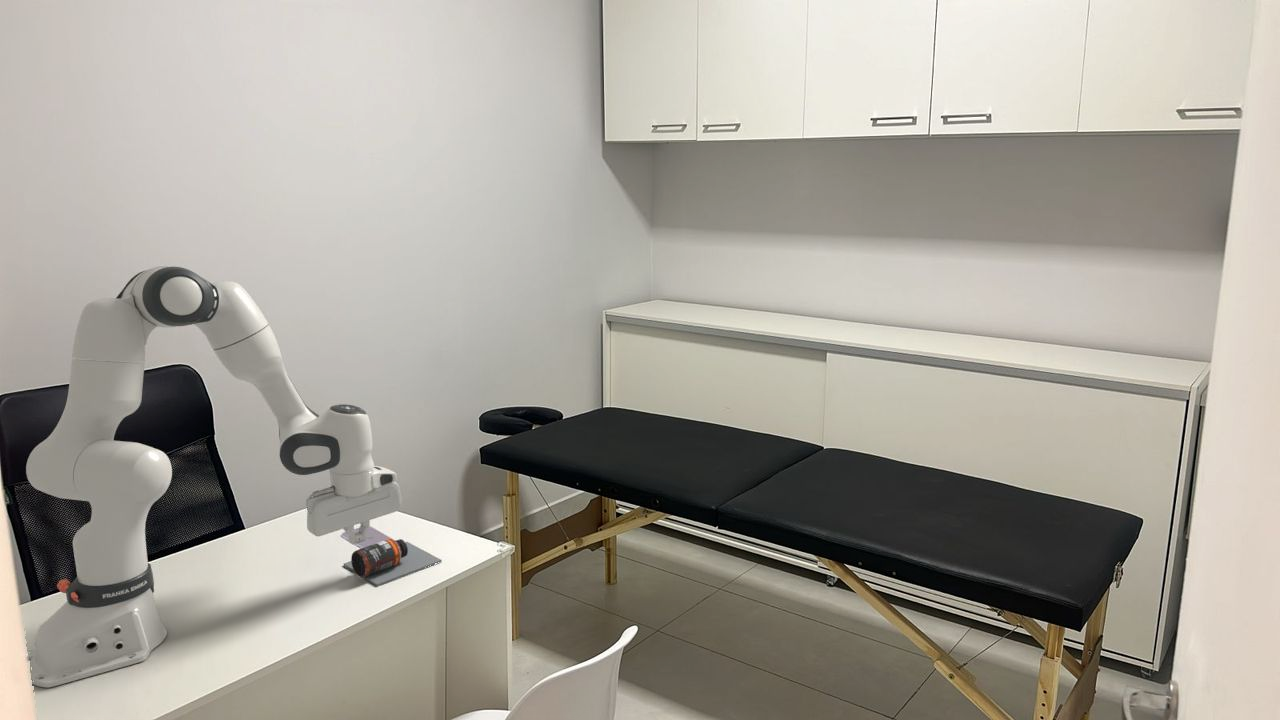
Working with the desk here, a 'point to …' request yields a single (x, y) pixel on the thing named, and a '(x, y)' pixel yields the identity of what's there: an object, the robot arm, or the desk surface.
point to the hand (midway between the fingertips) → (357, 541)
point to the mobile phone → (368, 537)
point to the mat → (401, 566)
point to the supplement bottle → (378, 556)
